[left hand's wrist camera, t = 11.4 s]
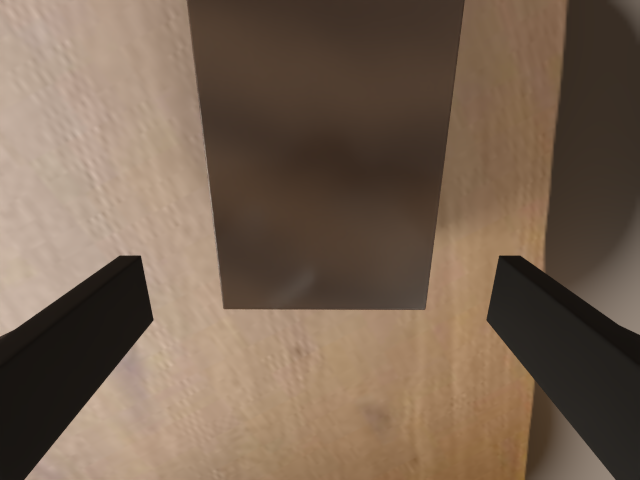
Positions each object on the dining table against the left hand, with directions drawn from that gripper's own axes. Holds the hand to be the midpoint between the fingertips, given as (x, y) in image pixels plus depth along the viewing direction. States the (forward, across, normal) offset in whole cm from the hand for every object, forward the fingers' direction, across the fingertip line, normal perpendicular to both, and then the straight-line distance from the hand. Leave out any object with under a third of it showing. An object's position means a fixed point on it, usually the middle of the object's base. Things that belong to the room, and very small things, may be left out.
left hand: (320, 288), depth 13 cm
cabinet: (+13, 0, -5) cm, 14 cm away
